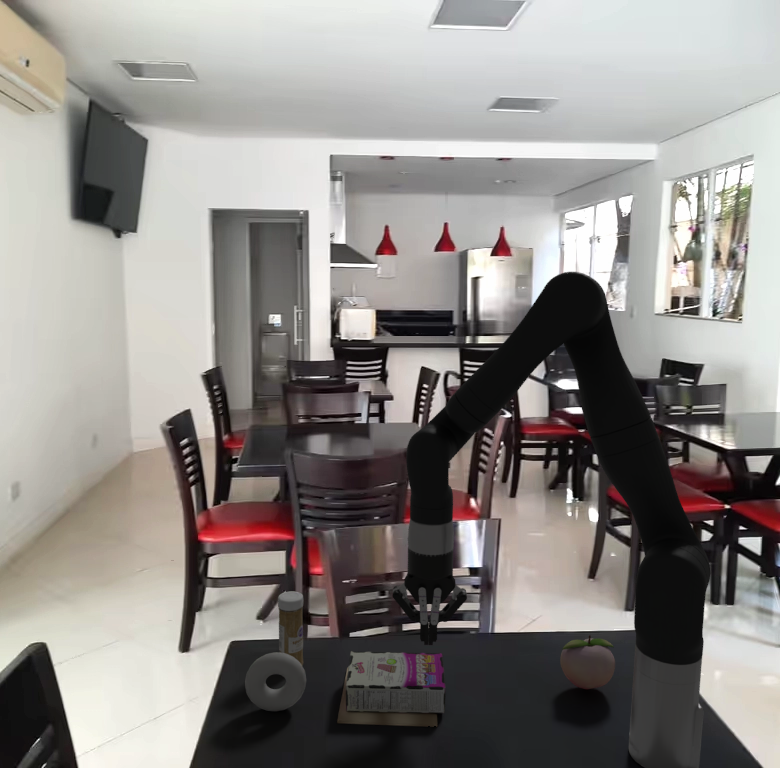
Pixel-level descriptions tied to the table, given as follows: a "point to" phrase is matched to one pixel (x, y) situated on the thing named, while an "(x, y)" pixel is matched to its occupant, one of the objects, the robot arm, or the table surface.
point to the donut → (275, 697)
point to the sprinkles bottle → (291, 624)
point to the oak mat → (384, 716)
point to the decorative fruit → (588, 662)
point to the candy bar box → (395, 682)
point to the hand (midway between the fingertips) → (428, 642)
